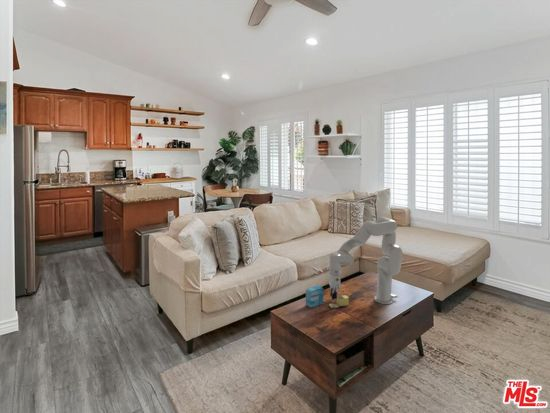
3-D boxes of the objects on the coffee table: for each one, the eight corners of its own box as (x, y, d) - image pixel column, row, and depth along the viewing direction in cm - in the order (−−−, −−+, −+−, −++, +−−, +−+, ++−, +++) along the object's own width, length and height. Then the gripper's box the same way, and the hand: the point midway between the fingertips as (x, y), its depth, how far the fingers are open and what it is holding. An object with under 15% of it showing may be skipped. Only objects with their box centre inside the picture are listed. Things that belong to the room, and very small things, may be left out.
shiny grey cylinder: (334, 298, 229) (334, 289, 228) (335, 299, 227) (336, 291, 226) (330, 298, 228) (331, 289, 227) (332, 299, 226) (332, 291, 225)
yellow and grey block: (345, 302, 235) (346, 294, 234) (348, 305, 230) (348, 297, 229) (336, 303, 233) (336, 295, 232) (338, 306, 229) (339, 298, 228)
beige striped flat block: (336, 304, 231) (336, 303, 231) (338, 307, 227) (338, 306, 227) (329, 305, 230) (329, 304, 230) (331, 308, 226) (331, 306, 226)
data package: (309, 308, 226) (310, 291, 224) (305, 305, 230) (305, 289, 227) (323, 303, 232) (323, 287, 230) (318, 301, 236) (319, 285, 234)
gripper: (344, 275, 217) (343, 302, 220) (335, 267, 233) (334, 292, 236) (333, 276, 216) (332, 303, 219) (325, 267, 231) (324, 293, 234)
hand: (333, 297), depth 227 cm, fingers closed on shiny grey cylinder, 2 cm apart
